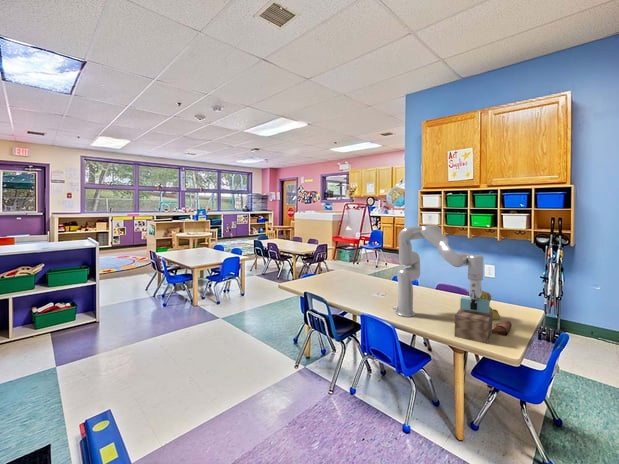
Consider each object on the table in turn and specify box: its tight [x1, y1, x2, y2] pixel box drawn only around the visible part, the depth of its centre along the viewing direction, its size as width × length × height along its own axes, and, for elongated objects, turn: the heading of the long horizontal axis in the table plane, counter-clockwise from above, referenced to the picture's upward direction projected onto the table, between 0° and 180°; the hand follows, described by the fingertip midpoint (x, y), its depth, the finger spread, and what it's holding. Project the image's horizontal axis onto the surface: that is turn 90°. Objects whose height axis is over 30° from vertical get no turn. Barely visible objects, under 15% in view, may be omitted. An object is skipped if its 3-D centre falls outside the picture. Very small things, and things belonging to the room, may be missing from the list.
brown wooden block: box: [454, 308, 493, 345], centre depth 172 cm, size 16×20×12 cm
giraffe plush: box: [479, 289, 501, 321], centre depth 199 cm, size 20×24×19 cm
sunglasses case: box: [491, 320, 513, 337], centre depth 178 cm, size 18×7×7 cm
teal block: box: [459, 296, 491, 313], centre depth 171 cm, size 14×5×6 cm, turn 54°
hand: (474, 307), depth 171 cm, fingers closed on teal block, 5 cm apart
